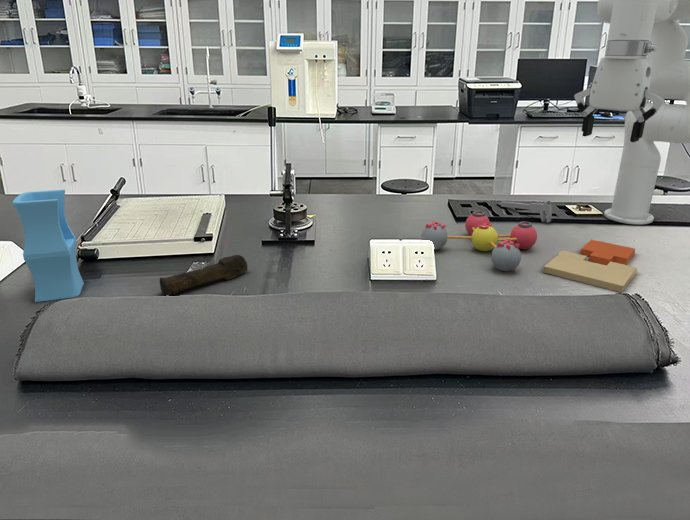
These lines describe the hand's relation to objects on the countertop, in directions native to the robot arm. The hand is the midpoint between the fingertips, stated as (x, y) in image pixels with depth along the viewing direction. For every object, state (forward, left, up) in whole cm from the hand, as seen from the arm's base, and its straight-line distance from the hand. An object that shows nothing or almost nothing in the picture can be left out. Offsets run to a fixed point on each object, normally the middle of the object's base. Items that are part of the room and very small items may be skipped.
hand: (609, 138), depth 111 cm
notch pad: (+6, +2, -28) cm, 29 cm away
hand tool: (+62, -59, -28) cm, 90 cm away
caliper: (-26, -26, -28) cm, 46 cm away
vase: (+83, -79, -28) cm, 118 cm away
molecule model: (+8, -22, -28) cm, 36 cm away
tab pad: (-6, +2, -28) cm, 29 cm away
